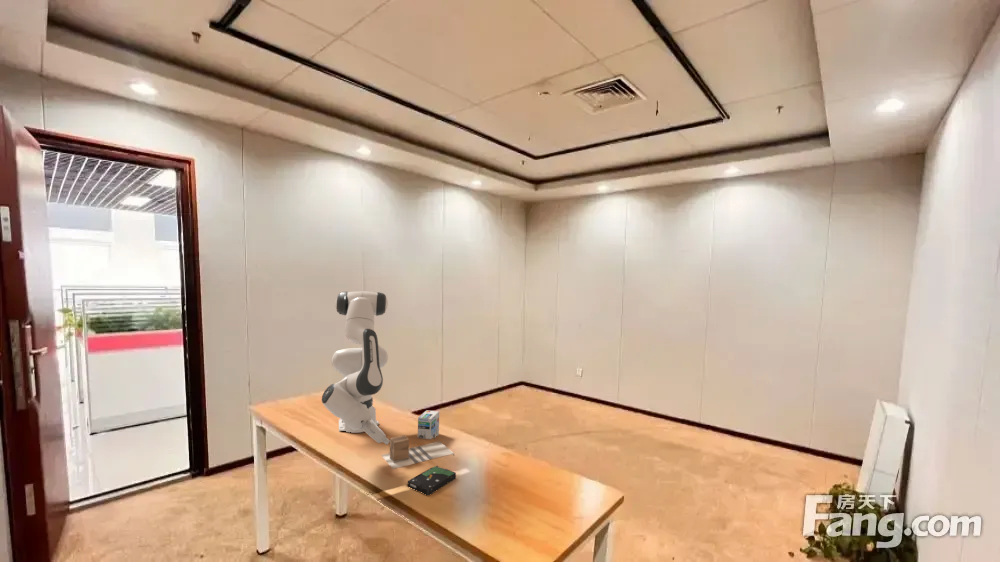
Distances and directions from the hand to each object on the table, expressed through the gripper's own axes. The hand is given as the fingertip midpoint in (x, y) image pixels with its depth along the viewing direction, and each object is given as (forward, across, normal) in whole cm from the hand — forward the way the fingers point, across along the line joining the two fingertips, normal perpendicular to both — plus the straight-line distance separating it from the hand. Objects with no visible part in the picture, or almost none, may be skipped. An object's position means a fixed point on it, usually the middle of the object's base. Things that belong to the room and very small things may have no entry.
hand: (384, 438), depth 157 cm
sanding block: (+11, 0, +2) cm, 11 cm away
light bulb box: (+26, +17, -10) cm, 33 cm away
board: (+18, 0, -2) cm, 18 cm away
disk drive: (+16, -21, 0) cm, 27 cm away
